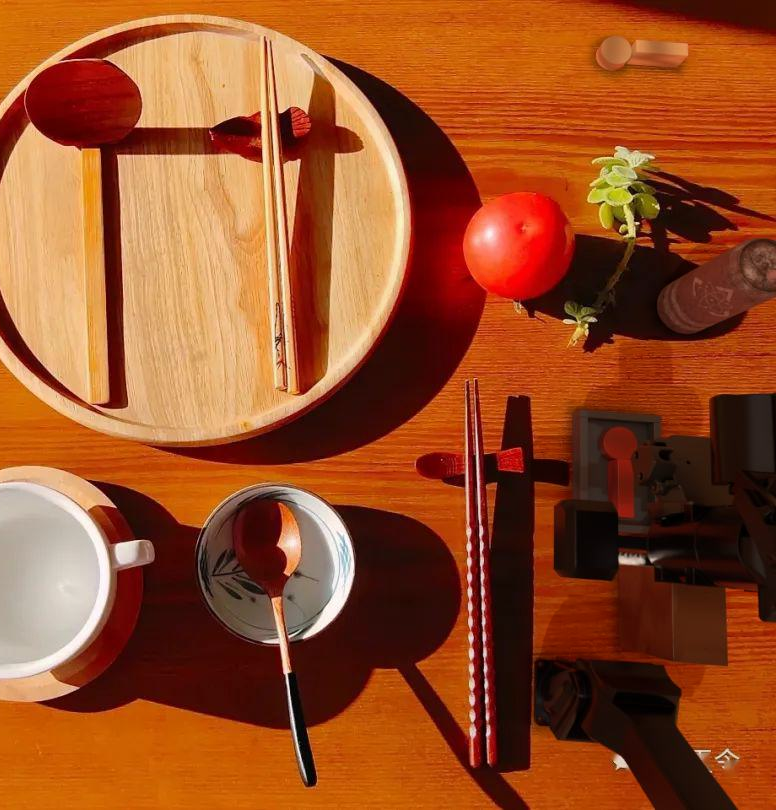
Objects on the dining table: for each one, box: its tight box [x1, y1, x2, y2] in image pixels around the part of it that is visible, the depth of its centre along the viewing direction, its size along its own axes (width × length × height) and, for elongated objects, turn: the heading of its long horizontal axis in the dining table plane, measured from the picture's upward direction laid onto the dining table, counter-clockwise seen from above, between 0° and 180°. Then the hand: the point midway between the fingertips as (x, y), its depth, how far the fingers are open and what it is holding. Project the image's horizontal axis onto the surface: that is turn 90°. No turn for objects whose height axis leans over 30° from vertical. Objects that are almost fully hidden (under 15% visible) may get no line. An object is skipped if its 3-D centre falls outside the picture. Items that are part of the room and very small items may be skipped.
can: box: [656, 237, 776, 335], centre depth 79 cm, size 6×6×14 cm
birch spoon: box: [595, 35, 689, 72], centre depth 90 cm, size 10×4×2 cm, turn 86°
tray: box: [571, 409, 662, 536], centre depth 81 cm, size 13×9×2 cm
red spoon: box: [598, 427, 637, 519], centre depth 81 cm, size 10×4×2 cm, turn 176°
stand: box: [617, 549, 729, 667], centre depth 75 cm, size 10×5×10 cm, turn 176°
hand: (622, 545), depth 69 cm, fingers open, 9 cm apart
